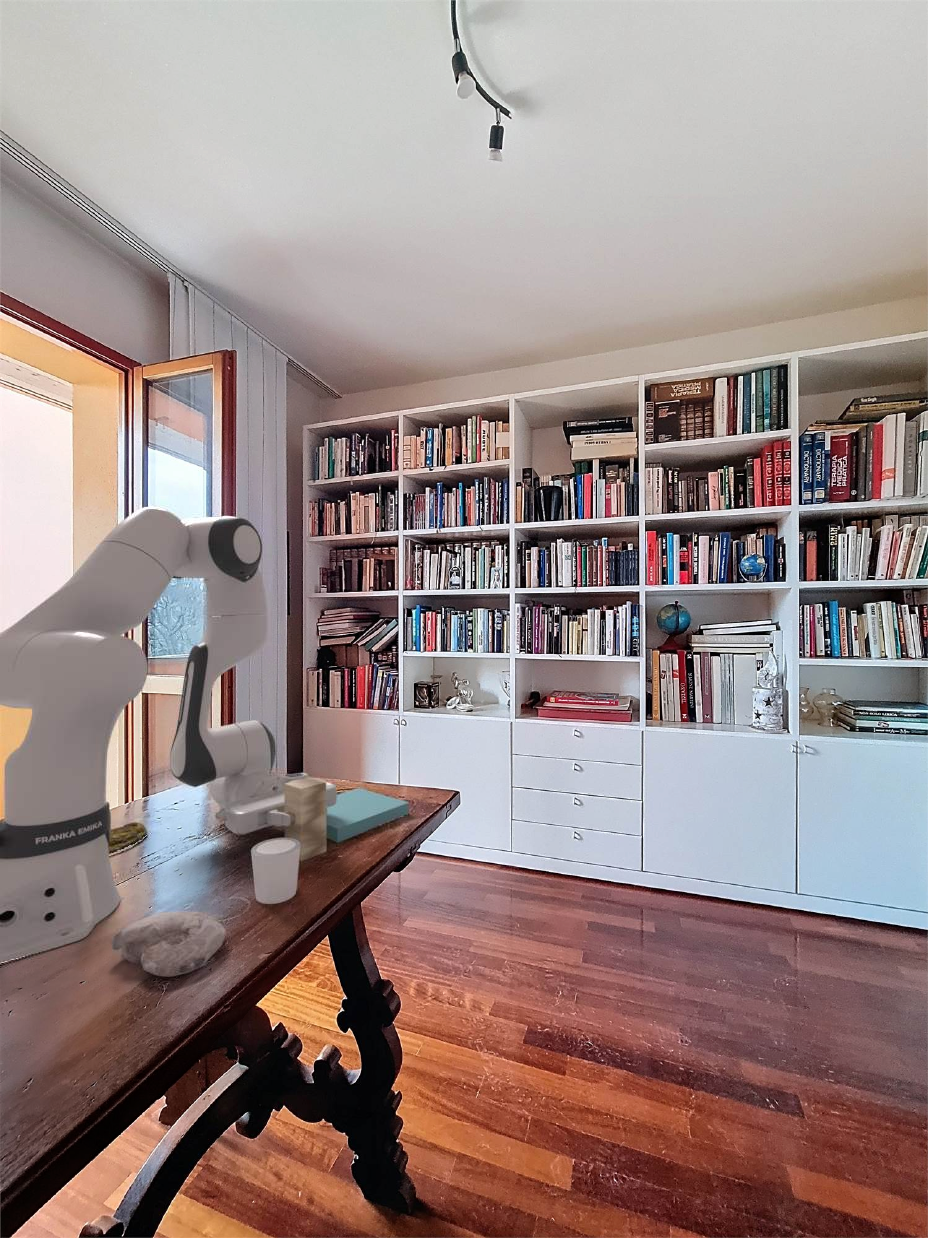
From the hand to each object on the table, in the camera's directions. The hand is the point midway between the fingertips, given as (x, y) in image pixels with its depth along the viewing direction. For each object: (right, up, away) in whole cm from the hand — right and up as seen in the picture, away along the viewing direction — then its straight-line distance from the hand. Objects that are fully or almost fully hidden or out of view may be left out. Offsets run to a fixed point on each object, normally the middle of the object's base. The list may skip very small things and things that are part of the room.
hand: (308, 815), depth 92 cm
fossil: (-8, -7, -28) cm, 30 cm away
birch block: (-1, -7, 0) cm, 7 cm away
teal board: (+4, -7, +16) cm, 18 cm away
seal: (-37, -8, +5) cm, 38 cm away
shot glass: (-1, -7, -14) cm, 15 cm away
